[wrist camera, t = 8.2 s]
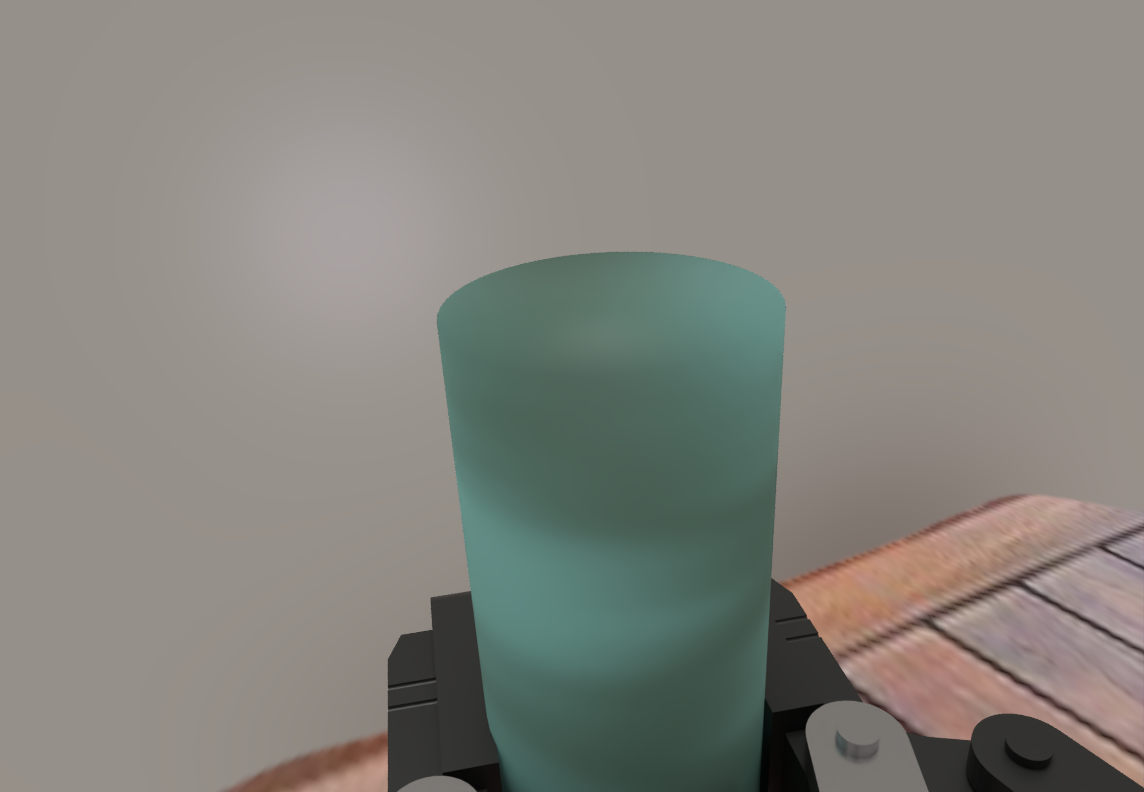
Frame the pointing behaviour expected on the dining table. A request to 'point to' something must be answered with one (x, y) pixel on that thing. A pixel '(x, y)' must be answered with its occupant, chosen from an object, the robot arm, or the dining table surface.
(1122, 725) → the dining table surface
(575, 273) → the dowel
